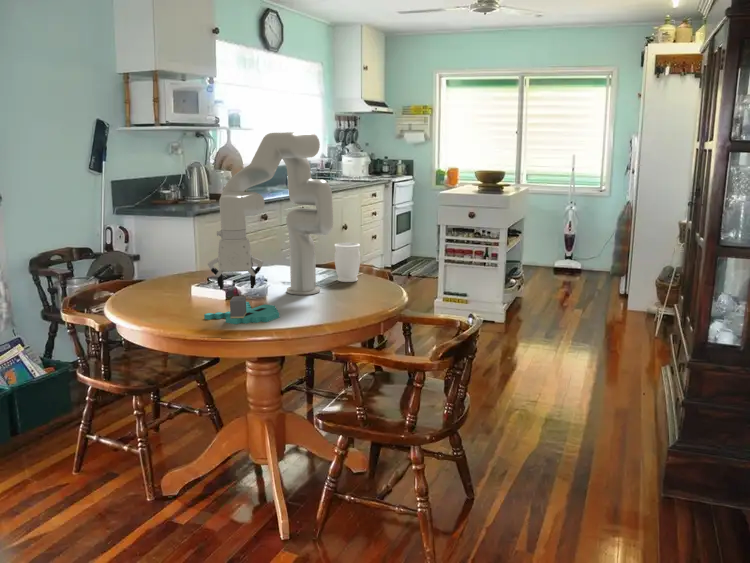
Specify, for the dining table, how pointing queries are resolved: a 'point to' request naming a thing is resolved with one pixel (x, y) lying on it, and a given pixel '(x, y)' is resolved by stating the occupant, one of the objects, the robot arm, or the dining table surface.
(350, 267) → the jar
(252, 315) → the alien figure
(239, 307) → the block
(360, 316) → the dining table surface
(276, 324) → the dining table surface
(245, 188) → the robot arm
